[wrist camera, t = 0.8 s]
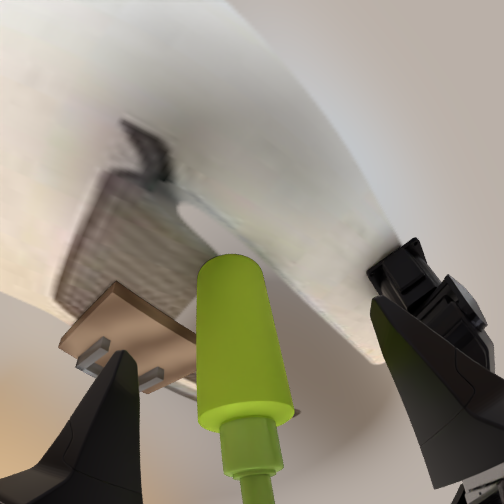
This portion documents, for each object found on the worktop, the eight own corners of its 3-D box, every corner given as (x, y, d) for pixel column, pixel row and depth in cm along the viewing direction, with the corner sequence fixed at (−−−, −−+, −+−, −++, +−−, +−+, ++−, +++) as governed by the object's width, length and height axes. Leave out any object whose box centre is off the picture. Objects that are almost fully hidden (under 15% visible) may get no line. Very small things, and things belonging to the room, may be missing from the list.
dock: (219, 347, 32) (220, 369, 29) (148, 385, 36) (146, 403, 33) (116, 280, 24) (108, 304, 22) (61, 338, 28) (54, 357, 26)
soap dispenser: (200, 311, 28) (211, 525, 12) (195, 254, 24) (200, 528, 8) (259, 308, 29) (301, 515, 13) (265, 252, 24) (331, 511, 8)
